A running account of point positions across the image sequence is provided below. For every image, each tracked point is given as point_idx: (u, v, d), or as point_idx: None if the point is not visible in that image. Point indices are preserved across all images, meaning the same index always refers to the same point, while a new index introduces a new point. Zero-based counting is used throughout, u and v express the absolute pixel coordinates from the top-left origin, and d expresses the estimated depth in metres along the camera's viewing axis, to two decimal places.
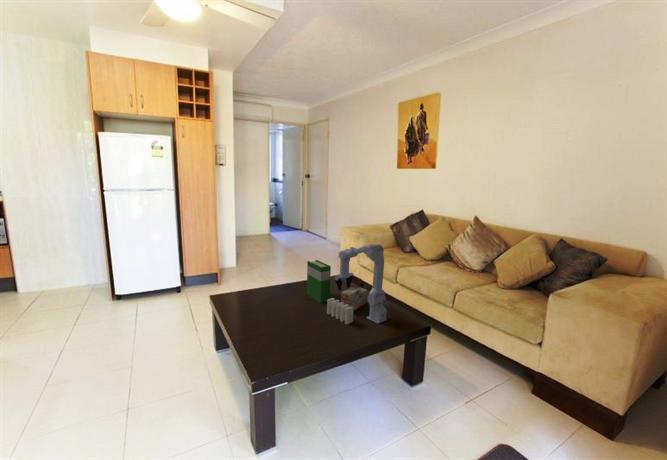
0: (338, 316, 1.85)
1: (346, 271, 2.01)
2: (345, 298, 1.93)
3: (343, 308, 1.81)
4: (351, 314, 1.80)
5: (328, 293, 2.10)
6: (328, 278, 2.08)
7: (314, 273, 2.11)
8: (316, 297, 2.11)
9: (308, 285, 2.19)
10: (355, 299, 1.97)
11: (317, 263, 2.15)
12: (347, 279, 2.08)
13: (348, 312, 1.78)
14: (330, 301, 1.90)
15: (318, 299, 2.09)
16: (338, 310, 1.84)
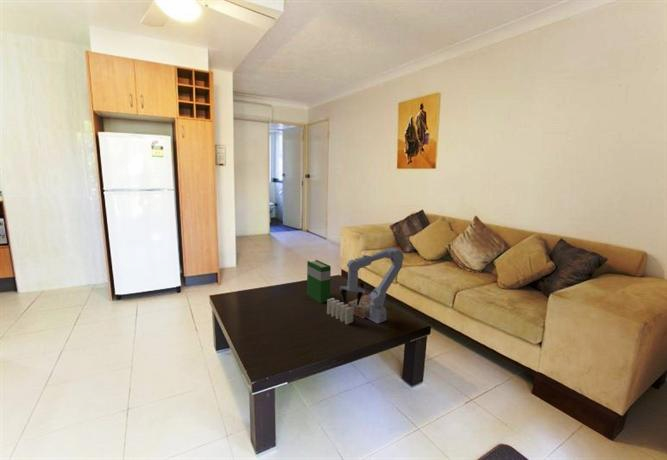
0: (338, 316, 1.85)
1: (349, 284, 1.78)
2: (359, 312, 1.88)
3: (343, 308, 1.81)
4: (351, 314, 1.80)
5: (328, 293, 2.10)
6: (328, 278, 2.08)
7: (314, 273, 2.11)
8: (316, 297, 2.11)
9: (308, 285, 2.19)
10: None
11: (317, 263, 2.15)
12: None
13: (348, 312, 1.78)
14: (330, 301, 1.90)
15: (318, 299, 2.09)
16: (338, 310, 1.84)
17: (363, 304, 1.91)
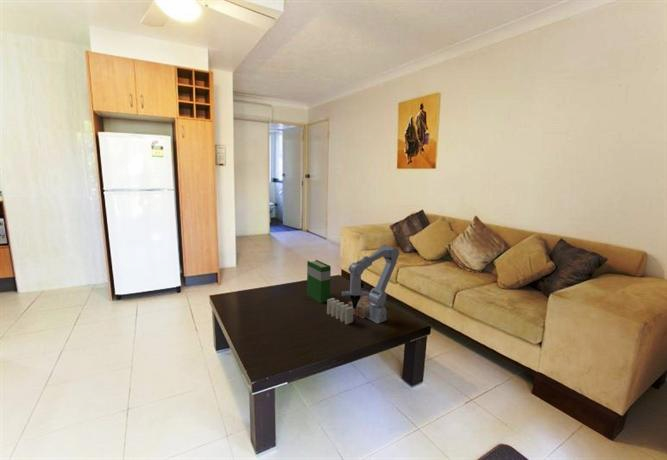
0: (338, 316, 1.85)
1: (354, 288, 1.71)
2: (359, 312, 1.88)
3: (343, 308, 1.81)
4: (351, 314, 1.80)
5: (328, 293, 2.10)
6: (328, 278, 2.08)
7: (314, 273, 2.11)
8: (316, 297, 2.11)
9: (308, 285, 2.19)
10: None
11: (317, 263, 2.15)
12: None
13: (348, 312, 1.78)
14: (330, 301, 1.90)
15: (318, 299, 2.09)
16: (338, 310, 1.84)
17: (363, 304, 1.91)
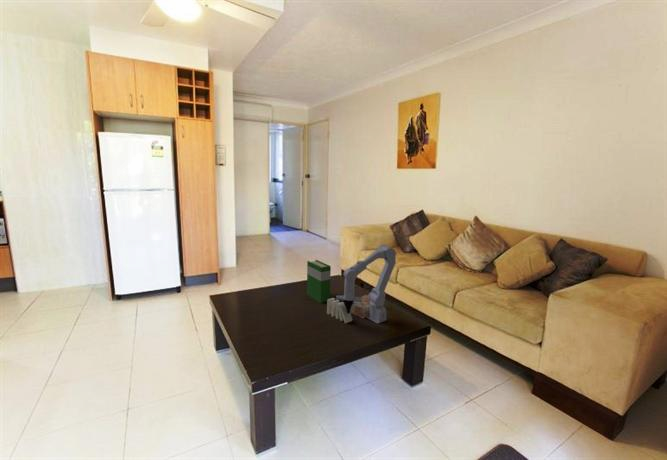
0: (338, 316, 1.85)
1: (347, 293, 1.76)
2: (359, 312, 1.88)
3: (340, 306, 1.82)
4: None
5: (328, 293, 2.10)
6: (328, 278, 2.08)
7: (314, 273, 2.11)
8: (316, 297, 2.11)
9: (308, 285, 2.19)
10: None
11: (317, 263, 2.15)
12: (349, 303, 1.80)
13: (344, 310, 1.81)
14: (330, 301, 1.90)
15: (318, 299, 2.09)
16: (338, 310, 1.84)
17: (363, 304, 1.91)
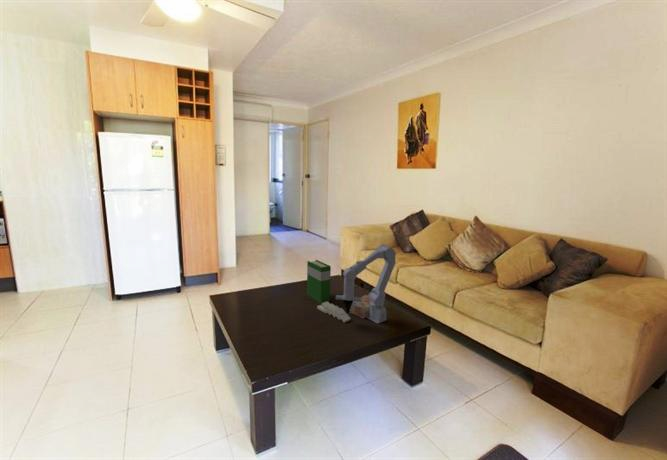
0: None
1: (346, 293, 1.76)
2: (359, 312, 1.88)
3: (332, 308, 1.88)
4: (343, 313, 1.85)
5: (328, 293, 2.10)
6: (328, 278, 2.08)
7: (314, 273, 2.11)
8: (316, 297, 2.11)
9: (308, 285, 2.19)
10: None
11: (317, 263, 2.15)
12: None
13: (338, 311, 1.85)
14: (319, 306, 1.98)
15: (318, 299, 2.09)
16: None
17: (363, 304, 1.91)
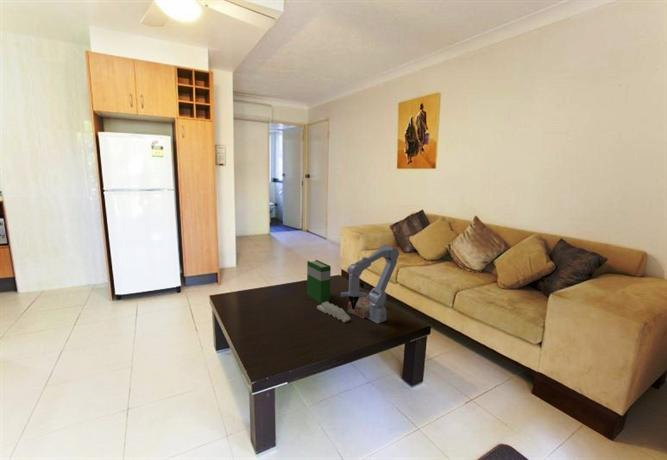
0: None
1: (352, 289, 1.72)
2: (359, 312, 1.88)
3: (332, 308, 1.88)
4: (343, 313, 1.85)
5: (328, 293, 2.10)
6: (328, 278, 2.08)
7: (314, 273, 2.11)
8: (316, 297, 2.11)
9: (308, 285, 2.19)
10: None
11: (317, 263, 2.15)
12: None
13: (338, 312, 1.85)
14: (319, 306, 1.98)
15: (318, 299, 2.09)
16: None
17: (363, 304, 1.91)
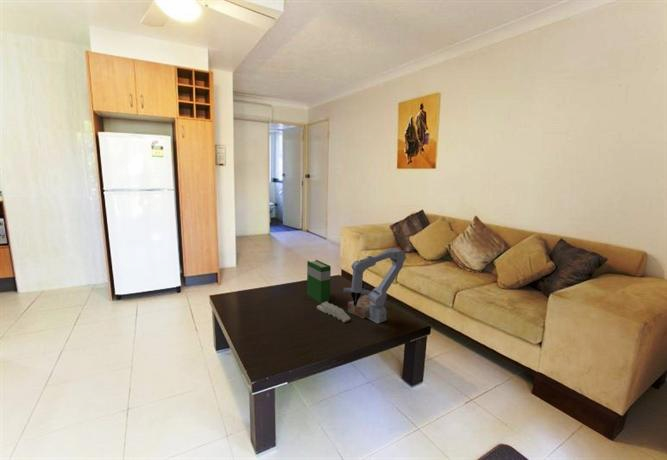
0: None
1: (355, 285, 1.75)
2: (359, 312, 1.88)
3: (332, 308, 1.88)
4: (343, 313, 1.85)
5: (328, 293, 2.10)
6: (328, 278, 2.08)
7: (314, 273, 2.11)
8: (316, 297, 2.11)
9: (308, 285, 2.19)
10: None
11: (317, 263, 2.15)
12: None
13: (338, 311, 1.85)
14: (318, 306, 1.98)
15: (318, 299, 2.09)
16: None
17: (363, 304, 1.91)
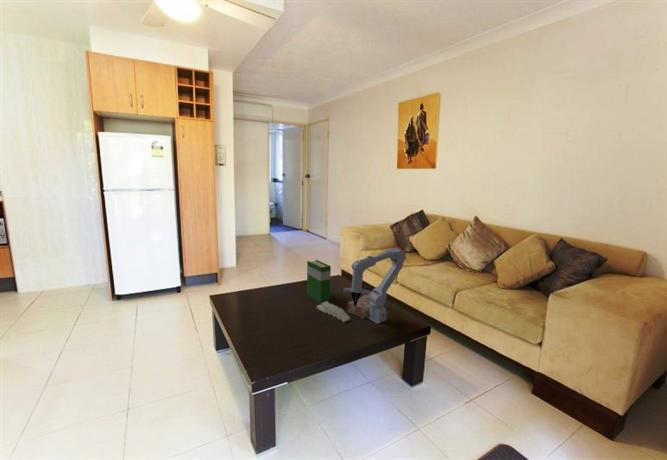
0: None
1: (355, 285, 1.75)
2: (359, 312, 1.88)
3: (332, 308, 1.88)
4: (343, 312, 1.85)
5: (328, 293, 2.10)
6: (328, 278, 2.08)
7: (314, 273, 2.11)
8: (316, 297, 2.11)
9: (308, 285, 2.19)
10: None
11: (317, 263, 2.15)
12: None
13: (338, 311, 1.85)
14: (318, 305, 1.99)
15: (318, 299, 2.09)
16: None
17: (363, 304, 1.91)
